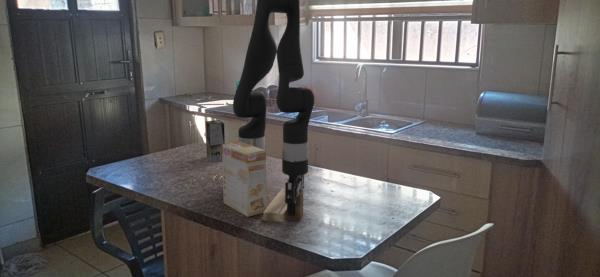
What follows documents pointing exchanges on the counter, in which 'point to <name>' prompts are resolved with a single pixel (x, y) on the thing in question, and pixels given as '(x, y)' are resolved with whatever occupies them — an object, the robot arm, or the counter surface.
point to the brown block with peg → (297, 208)
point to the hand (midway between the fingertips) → (295, 209)
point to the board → (276, 208)
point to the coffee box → (214, 139)
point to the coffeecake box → (244, 178)
